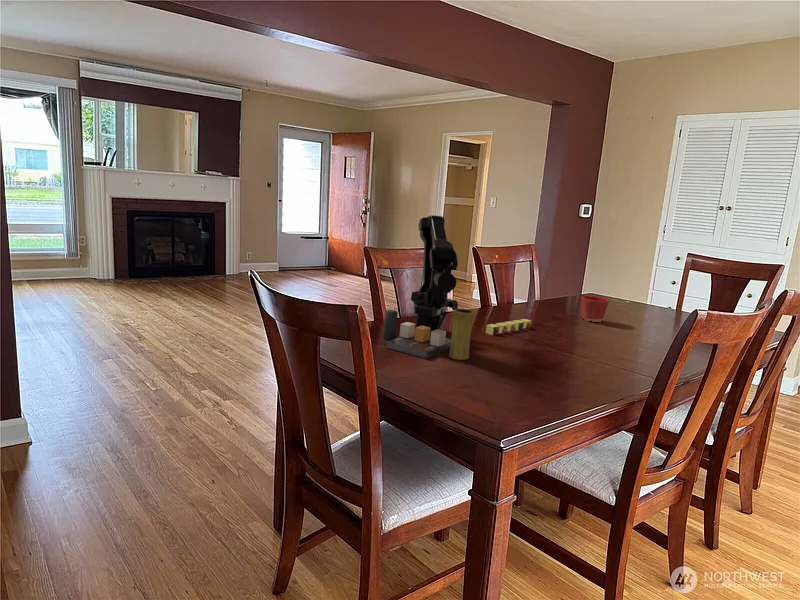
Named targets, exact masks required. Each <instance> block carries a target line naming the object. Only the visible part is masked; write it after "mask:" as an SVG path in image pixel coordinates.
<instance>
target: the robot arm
mask: <svg viewBox="0 0 800 600" xmlns="http://www.w3.org/2000/svg"><path fill="white" fill-rule="evenodd" d="M445 221H446V220H445V217H443V216H442V215H433V214H432V215H431V214H430V215H428V216H426V217H425V216H424V217H422V218H420V219H419V221H418V231H419V237H420V239H421V241H422V242H423V259H422V260H423V262H422V263H423V265H422V284H421V285H420V287H419V289H418V290H417V291H412V292H411V295H410V301H412V302H413V310H414V312H413V313H414V314H415V315H416V323H415V329H416V327H419V326H426V327H430V331H434V330H437V329H439V330H440V328H441V326H442V324H443V323H444V321H445V319H446V318H447V317H448V315H450V312H449V311H446V308H449V309H450V308H451V309H452V311H455V310H456V309H459V303H458V301H457V300H456V299H451V298H448V294H450V293H451V291H453V290H454V289H455V288H456V286H457V278H456V277H455V276H454V275H453V273H452V271H457V268H458V266H459V265H458V256H457V253H456V250H455V248H454V246H453V244H452V243H451V242H450V241H448V238H447V234H446V230H445V226H446V225H445V223H446V222H445Z"/></svg>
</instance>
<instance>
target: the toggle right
mask: <svg viewBox="0 0 800 600" xmlns="http://www.w3.org/2000/svg"><path fill="white" fill-rule="evenodd" d="M430 334H431V339H430V344H431V345H435V346H438V347H439V346H441V345H443V344H445V338H447V337H446V336H447V331H445V330H442V329H440V328H439V329H437V330H434V331H432V330H430Z"/></svg>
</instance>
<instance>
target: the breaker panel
mask: <svg viewBox="0 0 800 600" xmlns="http://www.w3.org/2000/svg"><path fill="white" fill-rule="evenodd" d="M430 339H431V333H430V338H429V340H428V341H425V342H419V341H416V340H415V333H414V336H413V337H410V338H404V337H400V336H398V337H396V338H395V339H392V340H387V341H386V349H390V350H394V351H397V352H401V353H403V354H404V353H405V354H408V355H411V356H414V357H415V356H416V357H418V358H422V359H425V360H426V359H430V358H431V357H433V356H436V355H438V354H440V353H442V352H445V351H447V350H450V344H451V338H447V337H446V338H445V344H443V345H441V346H439V347H438V346H435V345H431V344H430Z"/></svg>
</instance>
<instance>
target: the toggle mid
mask: <svg viewBox="0 0 800 600" xmlns="http://www.w3.org/2000/svg"><path fill="white" fill-rule="evenodd" d="M430 334H431V330H430V327H426V326H419V327H416V328H415V340H416V341H419V342H425V341H428V340H429V338H430Z"/></svg>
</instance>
